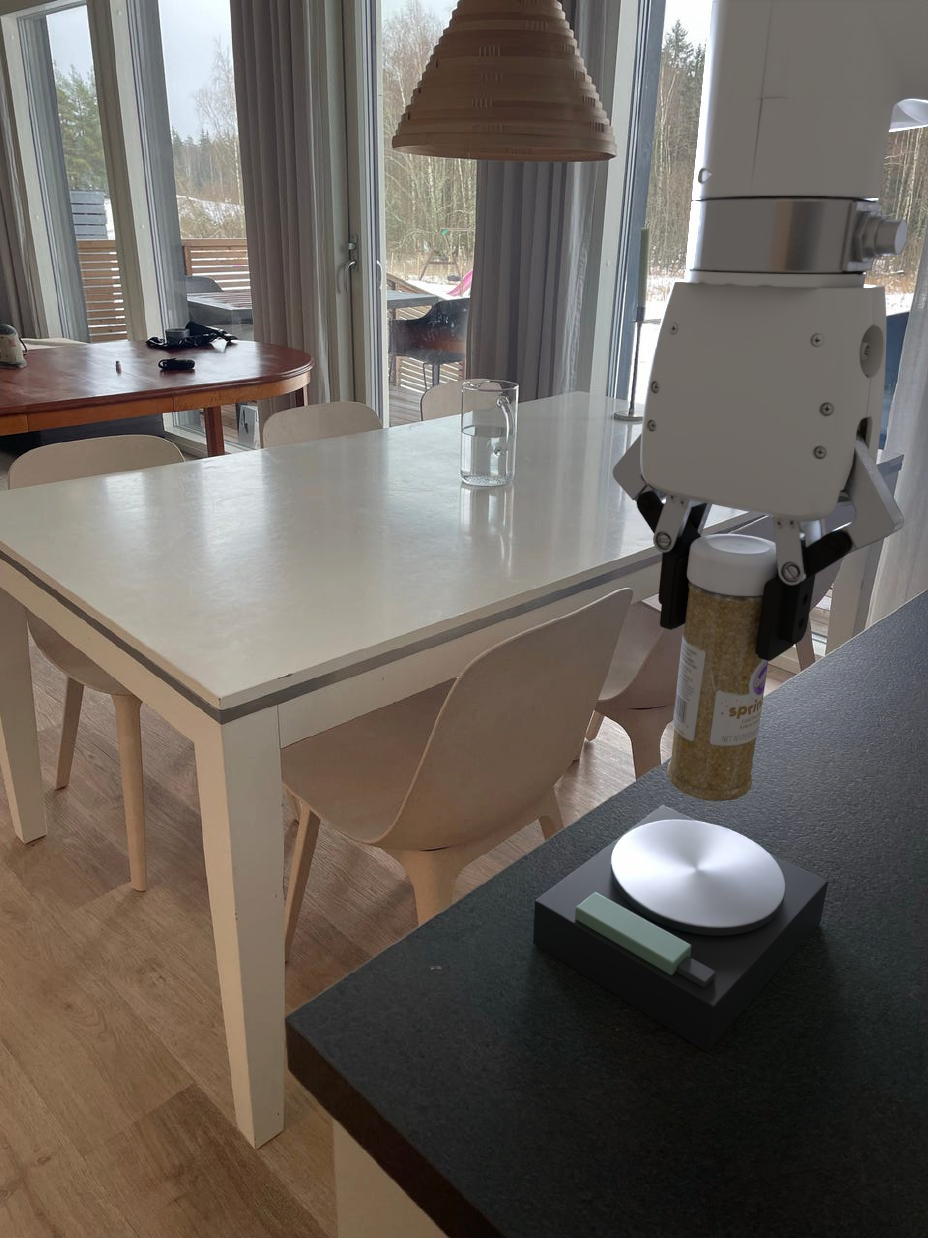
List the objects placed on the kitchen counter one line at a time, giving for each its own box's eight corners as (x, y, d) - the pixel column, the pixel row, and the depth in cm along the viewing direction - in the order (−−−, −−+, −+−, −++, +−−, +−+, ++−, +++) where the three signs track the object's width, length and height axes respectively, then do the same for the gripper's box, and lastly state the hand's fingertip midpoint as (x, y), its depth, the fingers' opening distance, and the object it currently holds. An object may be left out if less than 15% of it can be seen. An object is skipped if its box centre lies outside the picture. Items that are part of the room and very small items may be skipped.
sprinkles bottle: (746, 812, 48) (784, 564, 42) (657, 794, 49) (683, 551, 44) (755, 769, 52) (790, 536, 46) (672, 752, 53) (697, 526, 48)
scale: (658, 843, 61) (663, 793, 60) (820, 922, 54) (831, 868, 53) (532, 943, 52) (535, 888, 51) (707, 1053, 45) (715, 993, 44)
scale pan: (667, 809, 59) (668, 801, 59) (813, 876, 53) (815, 867, 53) (576, 878, 52) (577, 870, 52) (731, 964, 46) (732, 954, 46)
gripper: (1017, 251, 37) (926, 663, 44) (655, 245, 48) (628, 578, 55) (956, 252, 32) (864, 717, 39) (566, 245, 43) (549, 612, 50)
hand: (727, 632), depth 47 cm, fingers closed on sprinkles bottle, 4 cm apart
